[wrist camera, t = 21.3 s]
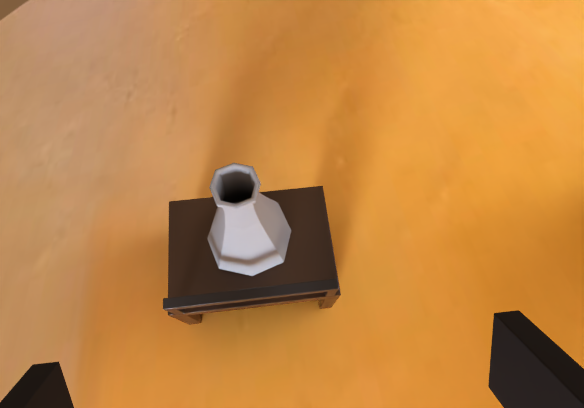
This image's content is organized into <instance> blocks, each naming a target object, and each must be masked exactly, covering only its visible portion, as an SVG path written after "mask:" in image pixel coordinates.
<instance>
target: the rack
mask: <svg viewBox="0 0 584 408" xmlns="http://www.w3.org/2000/svg"><path fill="white" fill-rule="evenodd" d="M259 193H261V194H262V195H264V196H266V197H267V198H269V199H272V200H274V201H276V202H277V203H278V204H279V206H280V208H281V210H282V212H283V214H284V216H285V218H286V221H287V223H288V225H289V227H290V229H291V234H290V238H289V242H288V247H287V251H286V255H285V260H284V262H283V263H281V264H278V265H276V266H274V267H272V268H269V269H267V270H265V271H263V272H260V273H258V274H256V275H254V276H250V275H245V274H241V273H236V272H232V271H227V270H223V269H219V268H218V265H217V263H216V260H215V257H214V255H213V252H212V250H211V247H210V244H209V242H208V239H207V238H208V235H209V232H210V229H211V226H212V223H213V220H214V216H215V213H216V210H217V208H218V206H217V205H216V202H215V200H214V197H210V198H200V199H190V200H180V201H171V202H169V265H168V298H164V299H163V309H164V310H166V311H168V315H169V316H171V317H173V318H176V319H178V320H180V321H183V322H185V323H187V324H197V323H201V314H203V313H212V312H220V311H229V310H237V309H245V308H254V307H262V306H270V305H279V304H287V303H296V302H304V301H312V300H319V307H320V309H322V308H330V307H332V306H333V304H334V303H335V302H336V300H337V299H338V298H339V296H340V295H341V294H340V288H339V282H338V276H337V270H336V264H335V258H334V252H333V246H332V240H331V234H330V228H329V222H328V216H327V210H326V204H325V198H324V192H323V186H317V187H307V188H298V189H288V190H278V191H268V192H259Z"/></svg>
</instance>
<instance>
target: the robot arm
mask: <svg viewBox="0 0 584 408" xmlns="http://www.w3.org/2000/svg"><path fill="white" fill-rule="evenodd" d="M489 388H490V389H491V391H492V392H493V393H494V395H495V396H496V398H497V399H498V400H499V402H500V403H501V404H502V406H503V407H504V408H584V369H583V368H582V367H581V366H580V365H579V364H578V363H576V362H575V361H574V360H573V359H572V358H571V357H570V356H569V355H568V354H566V353H565V352H564V351H563V350H562V349H561V348H560V347H559V346H558V345H557V344H555V343H554V342H553V341H552V340H551V339H550V338H549V337H548V336H547V335H545V334H544V333H543V332H542V331H541V330H540V329H539V328H538V327H537V326H535V325H534V324H533V323H532V322H531V321H530V320H529V319H528V318H527V317H525V316H524V315H523V314H522V313H521V312H520V311H510V312H501V313H494V321H493V334H492V347H491V360H490V373H489ZM0 408H74V406H73V403H72V400H71V397H70V394H69V391H68V388H67V385H66V382H65V379H64V376H63V373H62V370H61V367H60V364H59V362H53V363H44V364H35V365H32V366H31V367H30V368H29V370H28V371H27V372H26V373H25V374H24V375H23V377H22V378H21V379H20V380H19V381H18V382H17V384H16V385H15V386H14V387H13V388H12V389H11V391H10V392H9V393H8V394H7V395H6V396H5V398H4V399H3V400H2V401H1V402H0Z"/></svg>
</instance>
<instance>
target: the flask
mask: <svg viewBox="0 0 584 408" xmlns="http://www.w3.org/2000/svg"><path fill="white" fill-rule="evenodd" d="M260 185H261V183H260V181H259V179H258V177H257V174H256V172H255V170H254V168H253V167H252V166H247V165H242V164H237V163H232V164H230V165H227V166H224V167H222V168H219V169H217V170H215V173H214V176H213V178H212V181H211V184H210V190H211V193H212V195H213V197H214V200H215V202H216V205H217V206H218V208H217V210H216V213H215V216H214V220H213V223H212V226H211V229H210V232H209V235H208V238H207V239H208V242H209V244H210V247H211V250H212V252H213V255H214V257H215V260H216V263H217V265H218V268H219V269H223V270H227V271H232V272H236V273H241V274H245V275H250V276H254V275H256V274H258V273H260V272H263V271H265V270H267V269H269V268H272V267H274V266H276V265H278V264H281V263H283V262H284V260H285V255H286V251H287V247H288V242H289V238H290V234H291V229H290V227H289V225H288V223H287V221H286V218H285V216H284V214H283V212H282V210H281V208H280V206H279V204H278V203H277V202H276V201H274V200H272V199H269V198H267V197H266V196H264V195H262V194H261V193H259V189H260Z"/></svg>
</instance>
